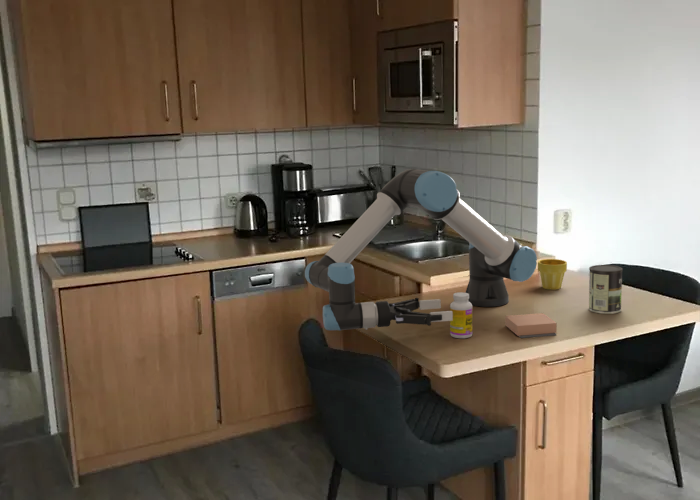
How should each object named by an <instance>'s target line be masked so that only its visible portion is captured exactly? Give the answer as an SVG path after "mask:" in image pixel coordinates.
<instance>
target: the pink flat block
mask: <svg viewBox="0 0 700 500" xmlns="http://www.w3.org/2000/svg"><path fill="white" fill-rule="evenodd" d="M504 317H505V319H504V321H505V322H504V323H505V326H506V327H507V328H508V329H509V330H511V332H513V333H514V334H515V335H516V336H518V337H519V336H521V335H533V334H546V333H556V334H557V330H558V329H557V326H558V325H557V323H558V322H556V321H554V320H553V319H552V318H550V317H549V316H548V315H546V314H544V312H541V313H540V312H539V313H527V314H524V313H523V314H511V315H505V316H504Z"/></svg>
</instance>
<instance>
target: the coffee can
mask: <svg viewBox="0 0 700 500" xmlns="http://www.w3.org/2000/svg"><path fill="white" fill-rule="evenodd" d="M588 270H589V287H588V288H589V289H588V290H589V291H588V292H589V293H588V310H589V311H590V312H592V313H596V314H600V315H601V314H603V315H605V314H606V315H613V314H618V313H621V312H622V293H623V291H622V289H623V285H622V284H623V271H624V270H623V267H622V266H618V265H613V264H612V265H611V264H597V265H596V264H595V265H591V266H589V268H588Z"/></svg>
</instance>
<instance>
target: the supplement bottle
mask: <svg viewBox="0 0 700 500" xmlns="http://www.w3.org/2000/svg"><path fill="white" fill-rule="evenodd" d="M452 294H453V296H452V297H453V301H452V302H451V303H450V304H449V311H452V312H453V321H449V335H450V336H451V337H453V338H454V339H455V338H456V339H467V338H470V337H472V336H473V329H474V327H473V325H474V324H473V323H474V322H473V305H472V304H471V303H470V302H469V301H468V299H469V294H468V293H465V292H461V291H460V292H459V291H458V292H454V293H452Z"/></svg>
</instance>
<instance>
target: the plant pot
mask: <svg viewBox="0 0 700 500" xmlns="http://www.w3.org/2000/svg"><path fill="white" fill-rule="evenodd" d="M537 270H538V272H539V275H540V276H539V277H540V281H541V286H542V289H545V290H549V291H550V290H552V291H553V290H555V291H556V290H560V289H561V288H562V284H563V281H564V277H565V273H566V272H567V270H568V263H567V261H566V260H563V259H559V258H545V259H540V260H538V261H537Z"/></svg>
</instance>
